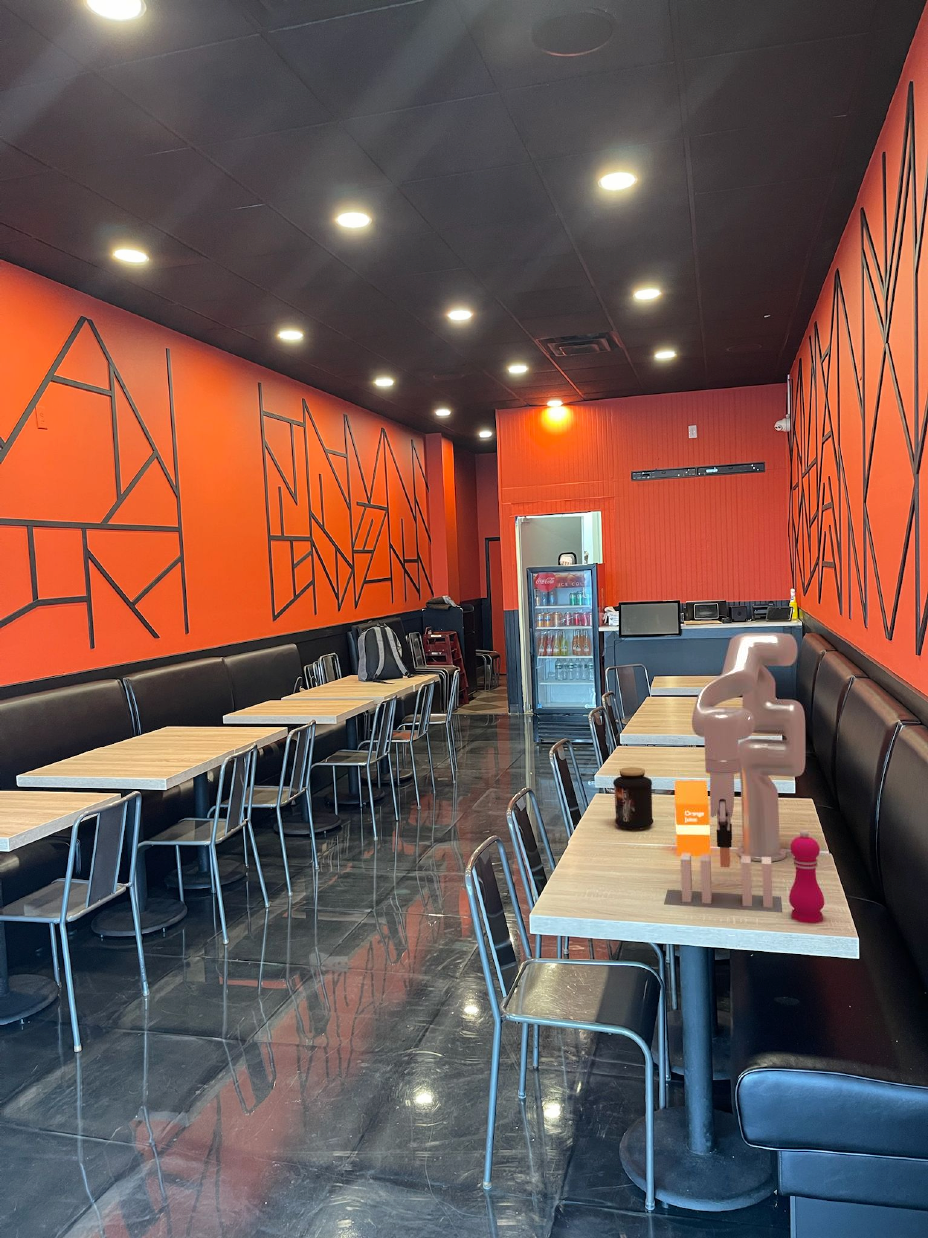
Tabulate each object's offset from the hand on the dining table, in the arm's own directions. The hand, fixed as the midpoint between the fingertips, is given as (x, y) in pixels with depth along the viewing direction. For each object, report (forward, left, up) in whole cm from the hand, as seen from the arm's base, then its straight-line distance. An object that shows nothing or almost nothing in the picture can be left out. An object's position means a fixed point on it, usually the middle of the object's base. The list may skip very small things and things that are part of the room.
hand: (724, 842), depth 202 cm
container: (-60, -29, -15) cm, 68 cm away
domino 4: (0, +5, -14) cm, 14 cm away
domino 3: (0, 0, -5) cm, 5 cm away
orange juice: (-38, -10, -15) cm, 42 cm away
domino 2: (0, -4, -14) cm, 14 cm away
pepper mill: (+7, +17, -15) cm, 23 cm away
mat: (0, -1, -14) cm, 14 cm away
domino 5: (0, +9, -14) cm, 16 cm away
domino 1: (0, -9, -14) cm, 16 cm away
